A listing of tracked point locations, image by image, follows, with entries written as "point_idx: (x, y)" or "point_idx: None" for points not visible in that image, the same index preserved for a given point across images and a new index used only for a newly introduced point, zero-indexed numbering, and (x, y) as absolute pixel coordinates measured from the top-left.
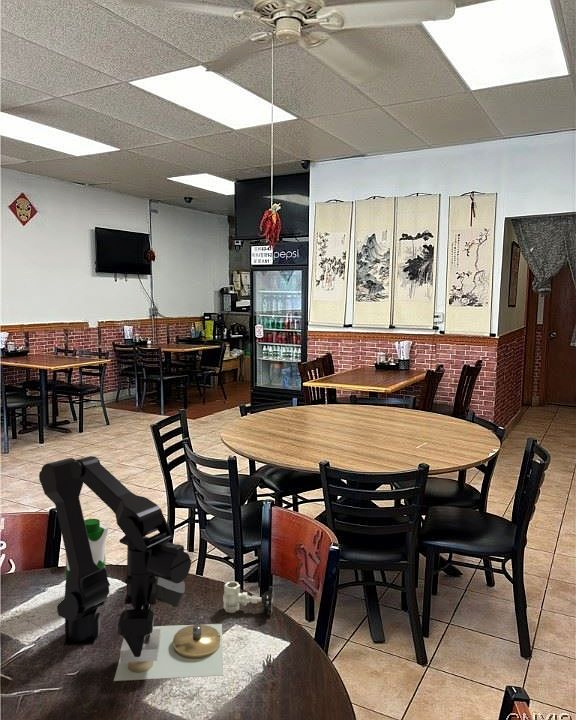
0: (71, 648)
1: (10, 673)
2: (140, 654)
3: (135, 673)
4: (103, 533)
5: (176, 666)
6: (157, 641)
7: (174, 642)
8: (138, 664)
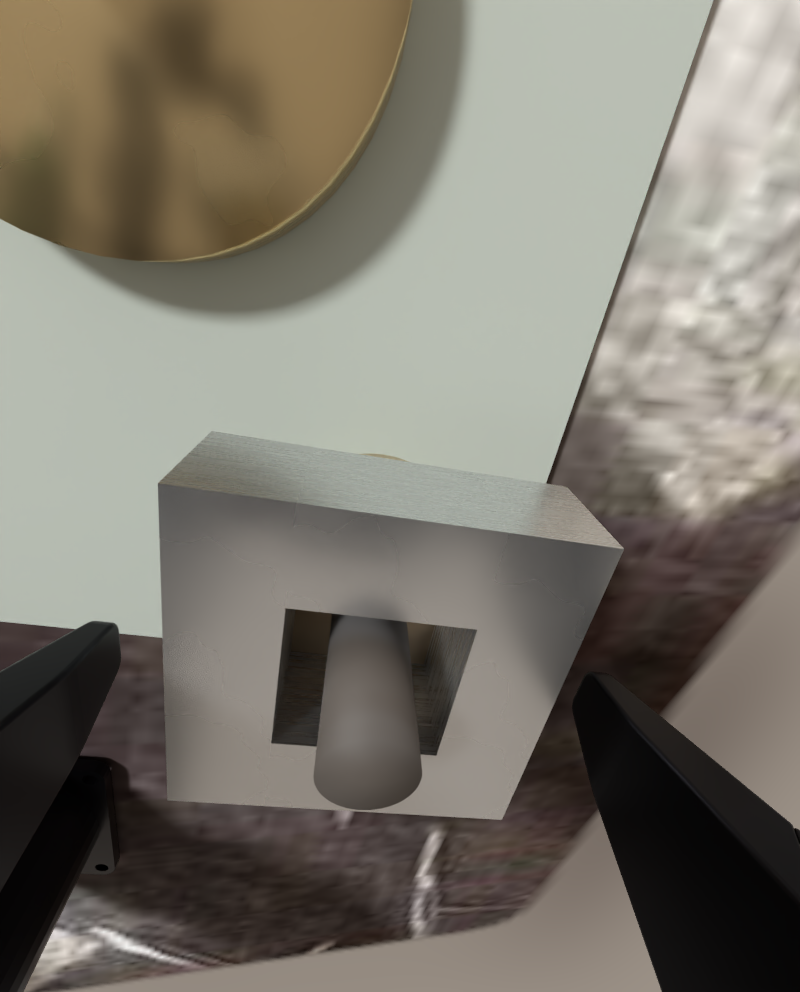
0: (135, 828)
1: (295, 950)
2: (626, 691)
3: None
4: None
5: (468, 267)
6: (465, 537)
7: (175, 250)
8: None
